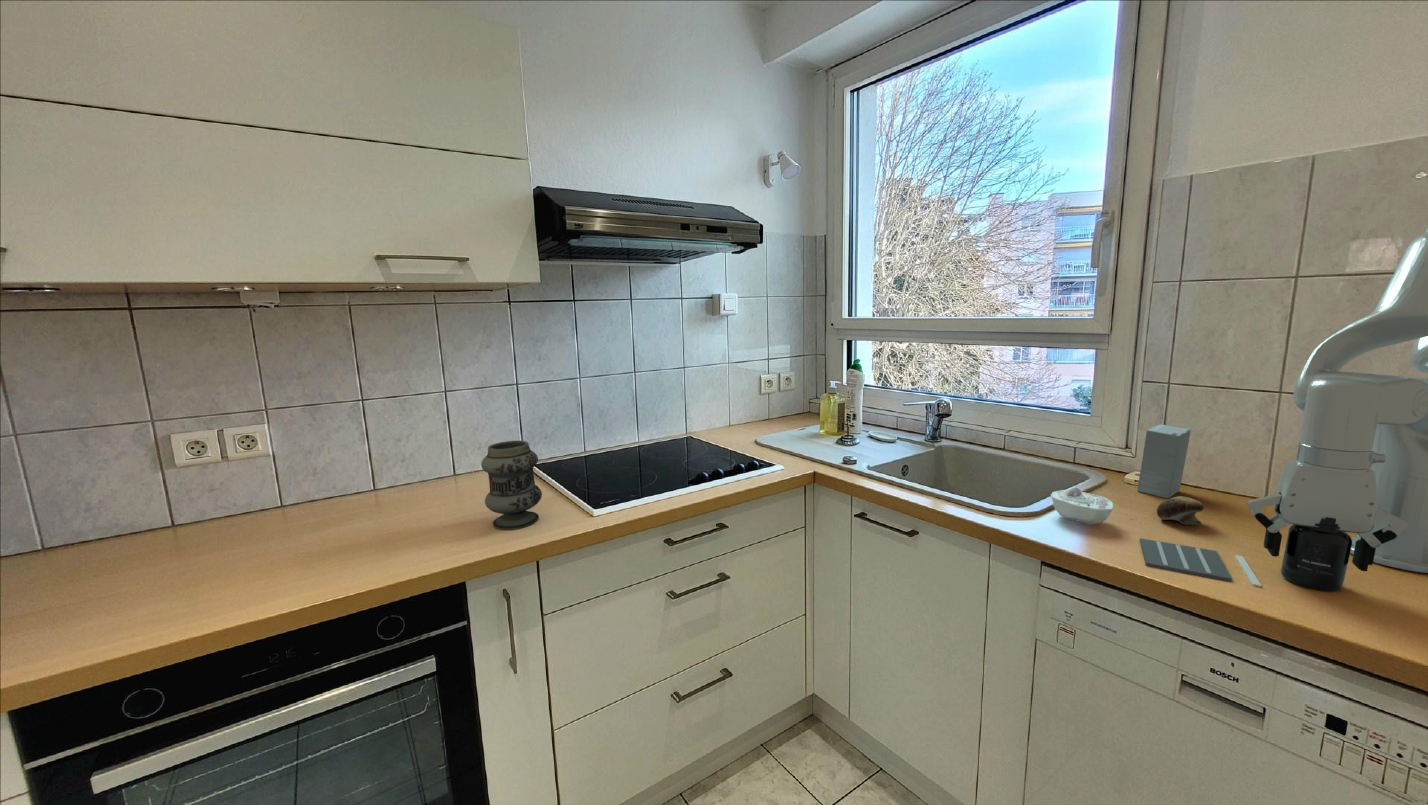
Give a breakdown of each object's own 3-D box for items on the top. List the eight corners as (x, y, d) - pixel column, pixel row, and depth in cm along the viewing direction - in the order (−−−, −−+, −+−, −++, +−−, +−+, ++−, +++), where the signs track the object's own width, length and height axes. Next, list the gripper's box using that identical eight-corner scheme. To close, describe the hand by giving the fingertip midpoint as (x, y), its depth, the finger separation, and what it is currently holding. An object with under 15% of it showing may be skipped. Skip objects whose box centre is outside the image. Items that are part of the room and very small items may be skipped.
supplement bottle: (1304, 591, 85) (1316, 519, 83) (1268, 571, 91) (1279, 503, 89) (1356, 594, 83) (1370, 521, 81) (1316, 573, 90) (1328, 505, 88)
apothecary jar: (512, 509, 129) (506, 436, 126) (554, 514, 125) (548, 439, 122) (475, 528, 118) (466, 449, 115) (519, 535, 114) (512, 452, 111)
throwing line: (1242, 557, 96) (1242, 556, 96) (1261, 587, 86) (1261, 585, 86) (1234, 556, 97) (1235, 555, 97) (1252, 585, 87) (1252, 583, 87)
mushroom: (1221, 518, 106) (1201, 488, 108) (1176, 530, 108) (1158, 501, 110) (1204, 523, 113) (1186, 495, 115) (1162, 535, 115) (1145, 506, 117)
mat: (1216, 553, 98) (1216, 550, 98) (1231, 581, 88) (1231, 578, 88) (1139, 540, 104) (1139, 537, 104) (1145, 565, 94) (1146, 562, 94)
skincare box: (1148, 485, 135) (1155, 423, 132) (1184, 492, 129) (1192, 428, 127) (1135, 492, 130) (1142, 428, 128) (1172, 500, 125) (1180, 433, 122)
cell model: (1084, 534, 107) (1087, 502, 106) (1037, 513, 119) (1039, 483, 118) (1126, 529, 109) (1130, 497, 108) (1076, 508, 121) (1079, 479, 120)
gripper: (1406, 458, 82) (1385, 563, 85) (1249, 445, 92) (1235, 540, 94) (1432, 471, 76) (1409, 584, 79) (1261, 455, 85) (1246, 557, 88)
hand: (1314, 560), depth 87 cm, fingers open, 9 cm apart
